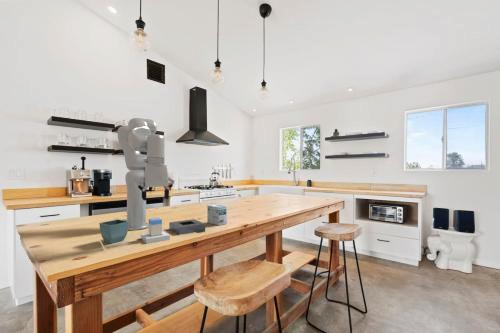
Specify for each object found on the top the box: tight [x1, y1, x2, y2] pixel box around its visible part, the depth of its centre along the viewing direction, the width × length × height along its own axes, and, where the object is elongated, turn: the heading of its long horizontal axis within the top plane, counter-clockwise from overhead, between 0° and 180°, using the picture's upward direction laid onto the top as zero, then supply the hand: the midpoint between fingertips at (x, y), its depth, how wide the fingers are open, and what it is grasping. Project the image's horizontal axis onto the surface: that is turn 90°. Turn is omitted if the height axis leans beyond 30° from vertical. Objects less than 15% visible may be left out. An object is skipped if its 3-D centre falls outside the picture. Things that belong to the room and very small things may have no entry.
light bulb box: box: [206, 203, 228, 226], centre depth 146 cm, size 11×7×11 cm, turn 49°
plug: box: [148, 217, 163, 237], centre depth 112 cm, size 5×5×9 cm
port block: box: [168, 218, 206, 236], centre depth 129 cm, size 14×14×4 cm
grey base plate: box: [140, 230, 171, 245], centre depth 112 cm, size 10×10×2 cm
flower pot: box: [98, 219, 129, 245], centre depth 108 cm, size 9×9×9 cm
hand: (155, 199), depth 112 cm, fingers open, 9 cm apart
